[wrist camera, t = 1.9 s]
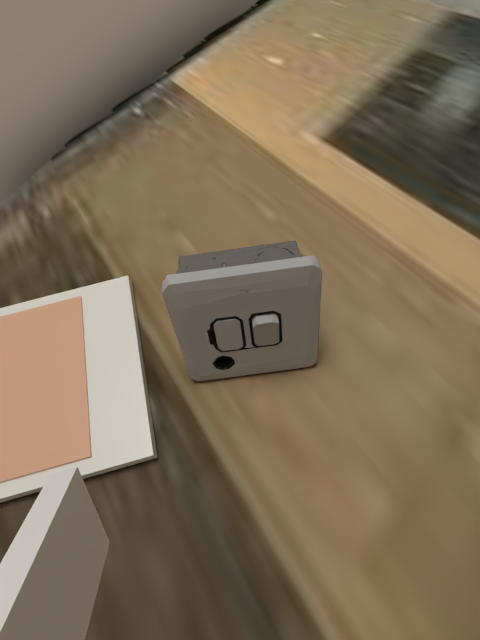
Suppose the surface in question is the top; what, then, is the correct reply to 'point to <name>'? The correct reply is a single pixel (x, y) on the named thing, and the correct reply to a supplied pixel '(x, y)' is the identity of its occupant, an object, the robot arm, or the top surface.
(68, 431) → the mounting plate
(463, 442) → the top surface
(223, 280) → the electrical switch
